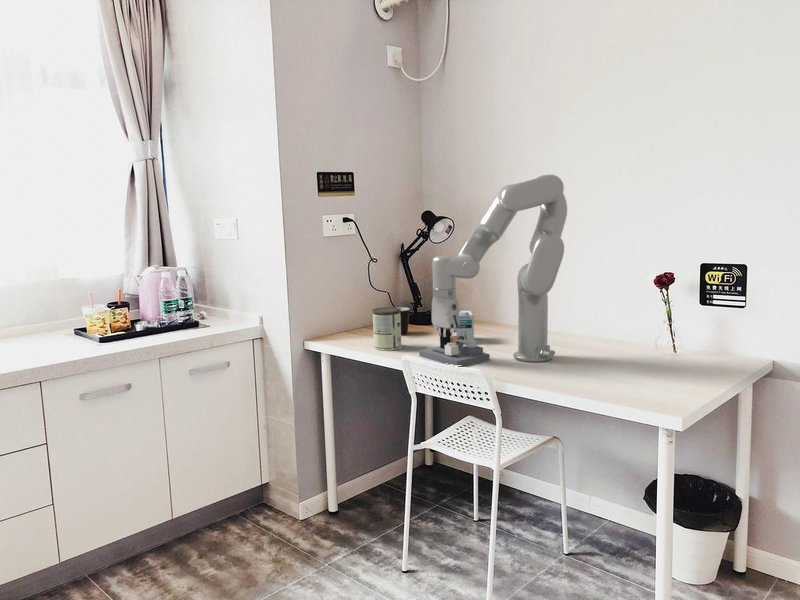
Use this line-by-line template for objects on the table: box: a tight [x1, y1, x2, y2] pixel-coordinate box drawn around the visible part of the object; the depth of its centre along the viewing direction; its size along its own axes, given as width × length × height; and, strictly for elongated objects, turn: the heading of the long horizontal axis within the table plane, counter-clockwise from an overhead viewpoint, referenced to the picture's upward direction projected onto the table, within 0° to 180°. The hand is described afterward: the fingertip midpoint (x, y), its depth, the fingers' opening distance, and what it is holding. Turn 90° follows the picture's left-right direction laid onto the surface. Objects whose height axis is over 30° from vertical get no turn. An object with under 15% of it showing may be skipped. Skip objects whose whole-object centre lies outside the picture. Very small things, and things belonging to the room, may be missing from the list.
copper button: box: [450, 335, 457, 343], centre depth 232 cm, size 4×4×3 cm
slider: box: [445, 342, 459, 356], centre depth 221 cm, size 3×3×4 cm
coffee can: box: [371, 306, 403, 352], centre depth 244 cm, size 10×10×14 cm
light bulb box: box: [454, 310, 475, 345], centre depth 252 cm, size 11×7×11 cm, turn 179°
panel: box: [418, 341, 490, 367], centre depth 226 cm, size 20×14×4 cm
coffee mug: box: [395, 306, 411, 336], centre depth 266 cm, size 12×9×10 cm
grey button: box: [465, 339, 478, 349], centre depth 224 cm, size 4×4×3 cm
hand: (445, 347), depth 224 cm, fingers closed
